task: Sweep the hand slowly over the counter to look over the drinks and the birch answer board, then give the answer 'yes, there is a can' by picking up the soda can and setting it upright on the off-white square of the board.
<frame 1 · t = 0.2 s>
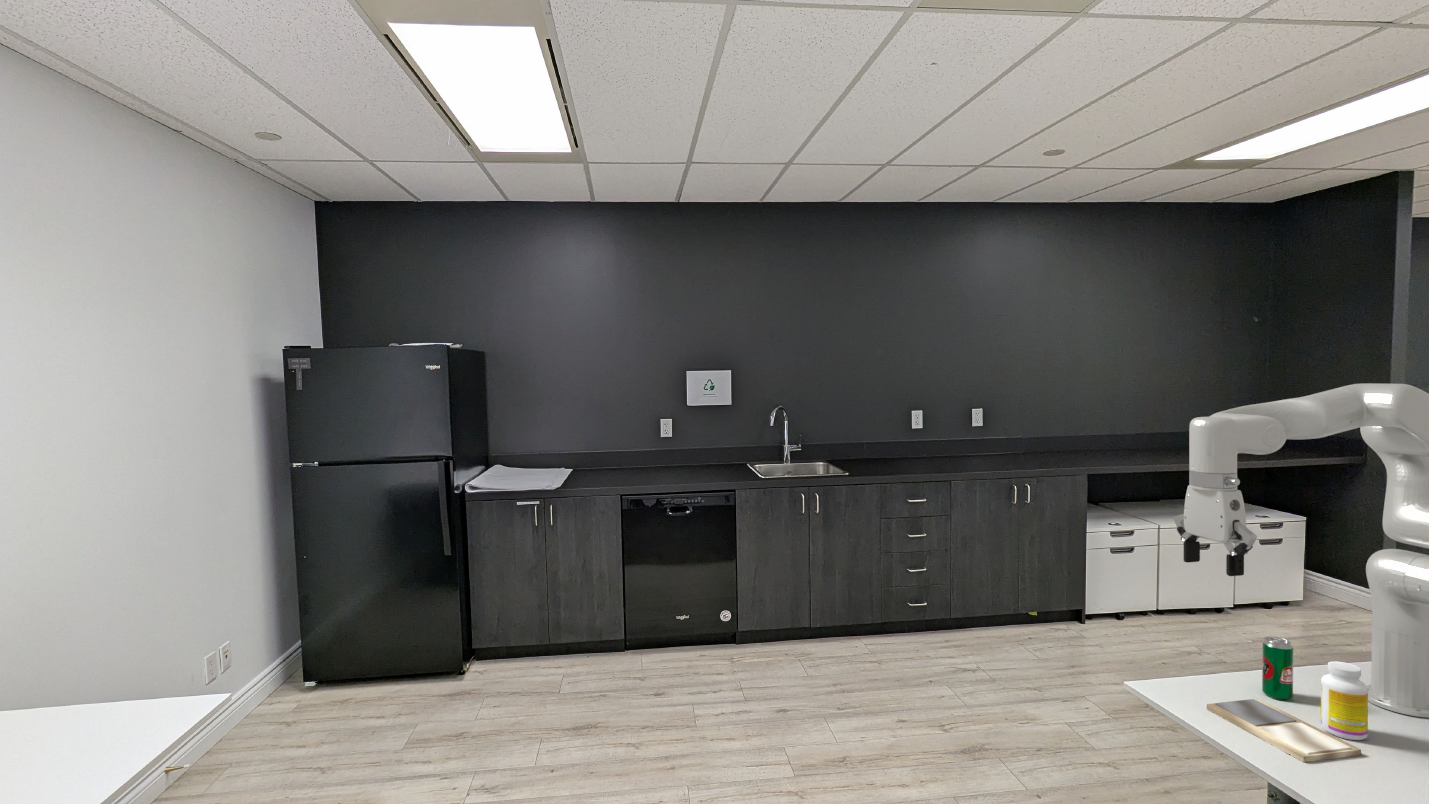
hand: (1212, 568, 135), 31 cm above the table, tool pointing down, fingers open, 9 cm apart
answer board: (1278, 730, 133), on the table
soda can: (1277, 696, 147), on the table
supplement bottle: (1343, 733, 132), on the table
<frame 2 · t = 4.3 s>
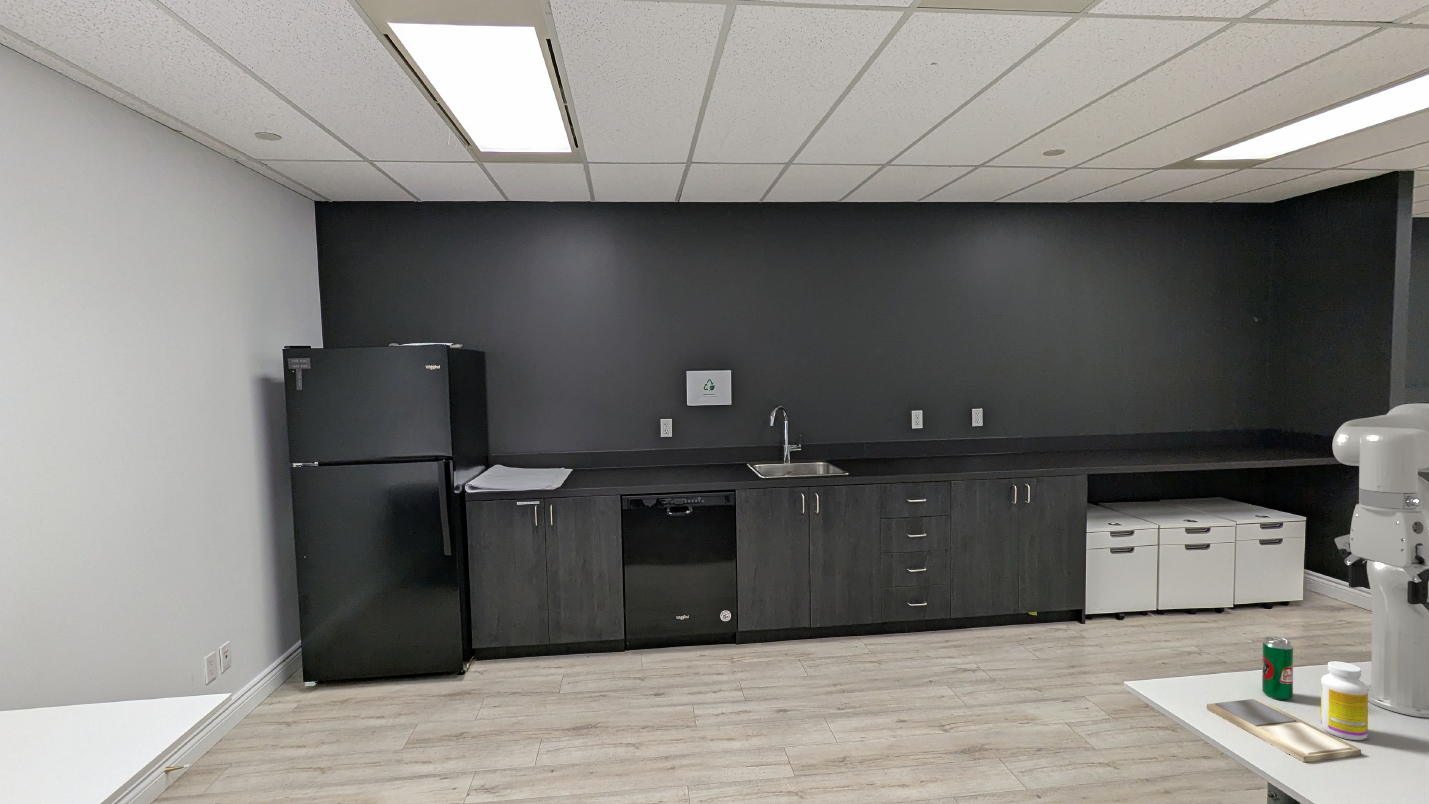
hand: (1386, 594, 125), 28 cm above the table, tool pointing down, fingers open, 9 cm apart
nothing on the table moved.
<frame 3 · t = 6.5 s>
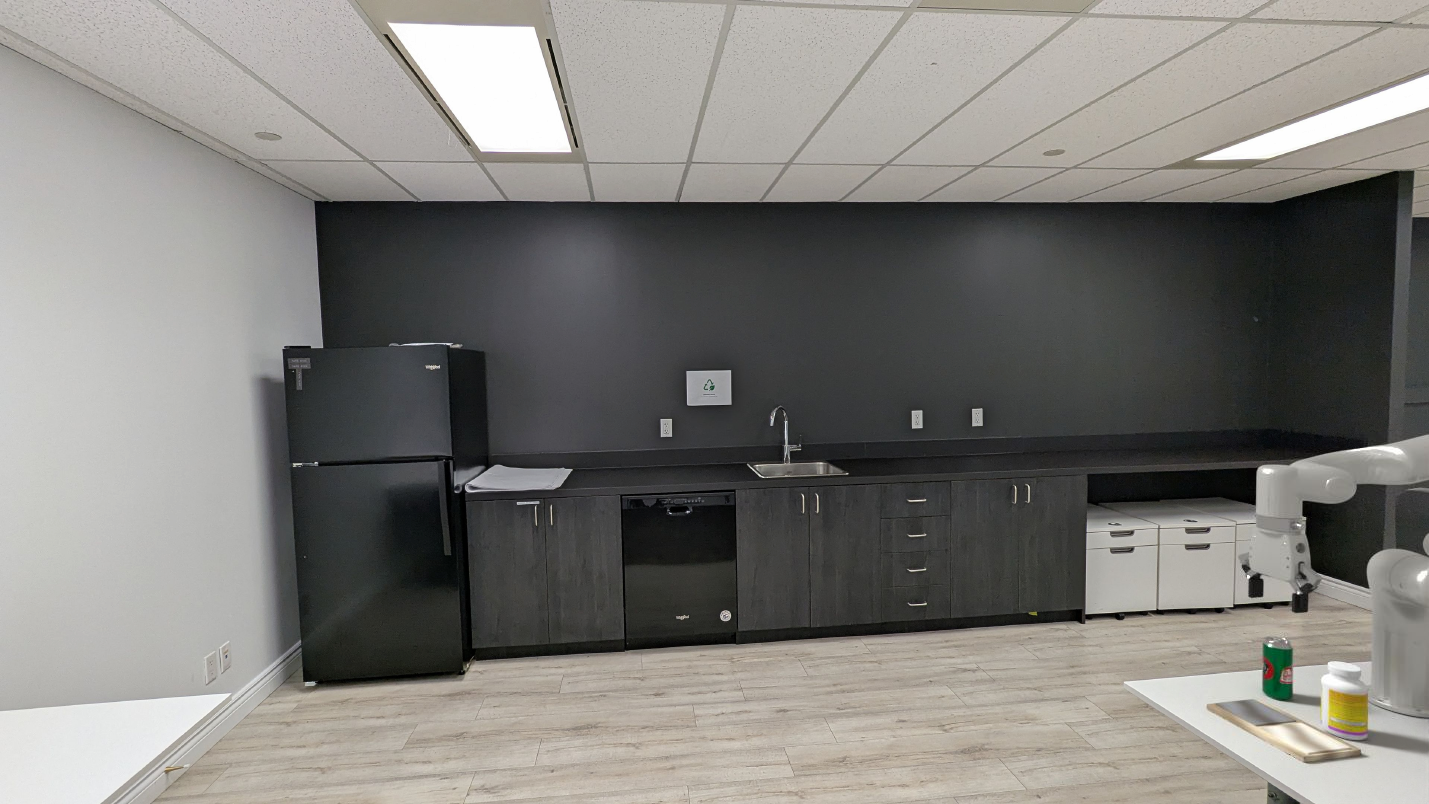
hand: (1277, 604, 146), 20 cm above the table, tool pointing down, fingers open, 9 cm apart
nothing on the table moved.
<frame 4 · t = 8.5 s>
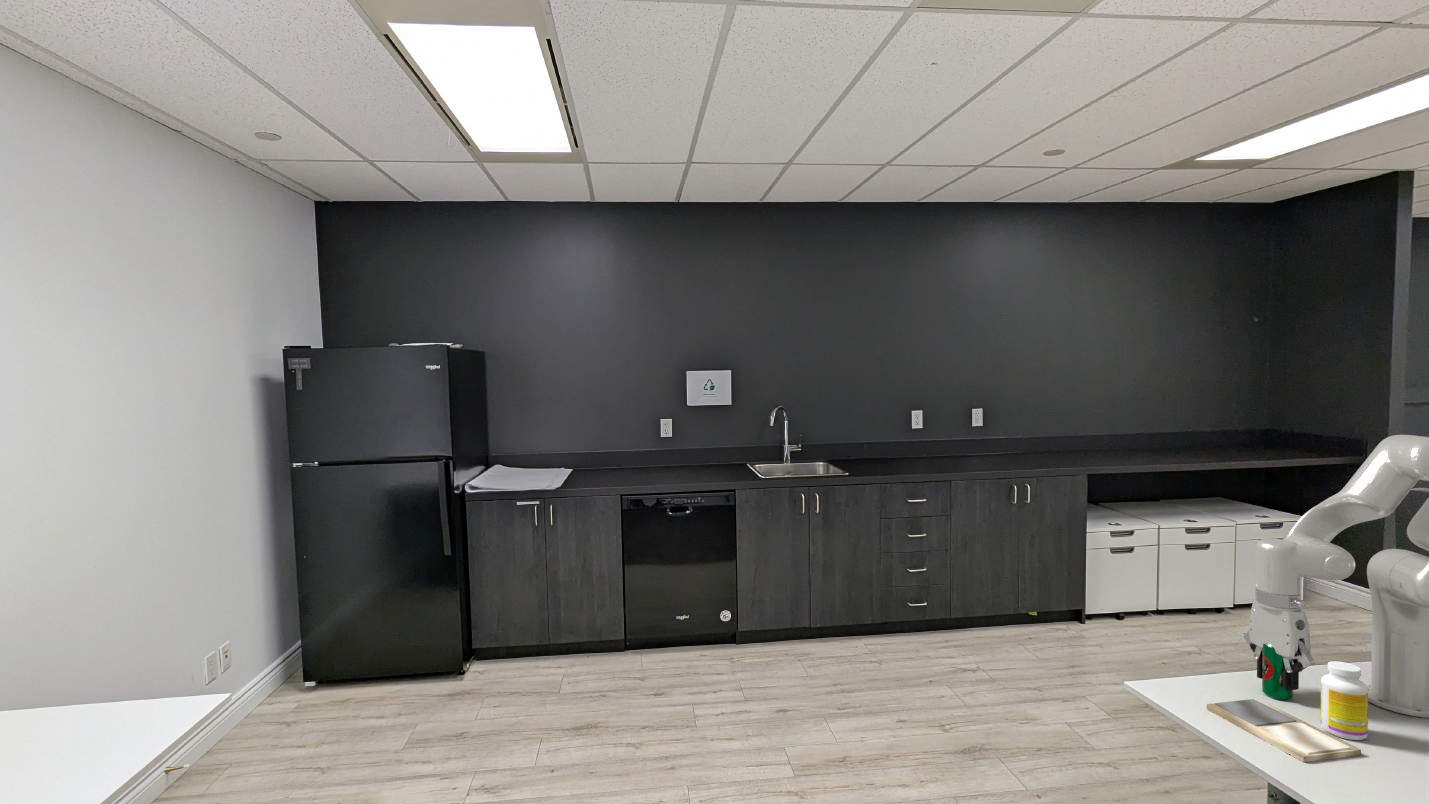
hand: (1277, 682, 147), 3 cm above the table, tool pointing down, fingers closed on soda can, 5 cm apart
soda can: (1277, 696, 147), on the table, touching gripper
everything else where it was.
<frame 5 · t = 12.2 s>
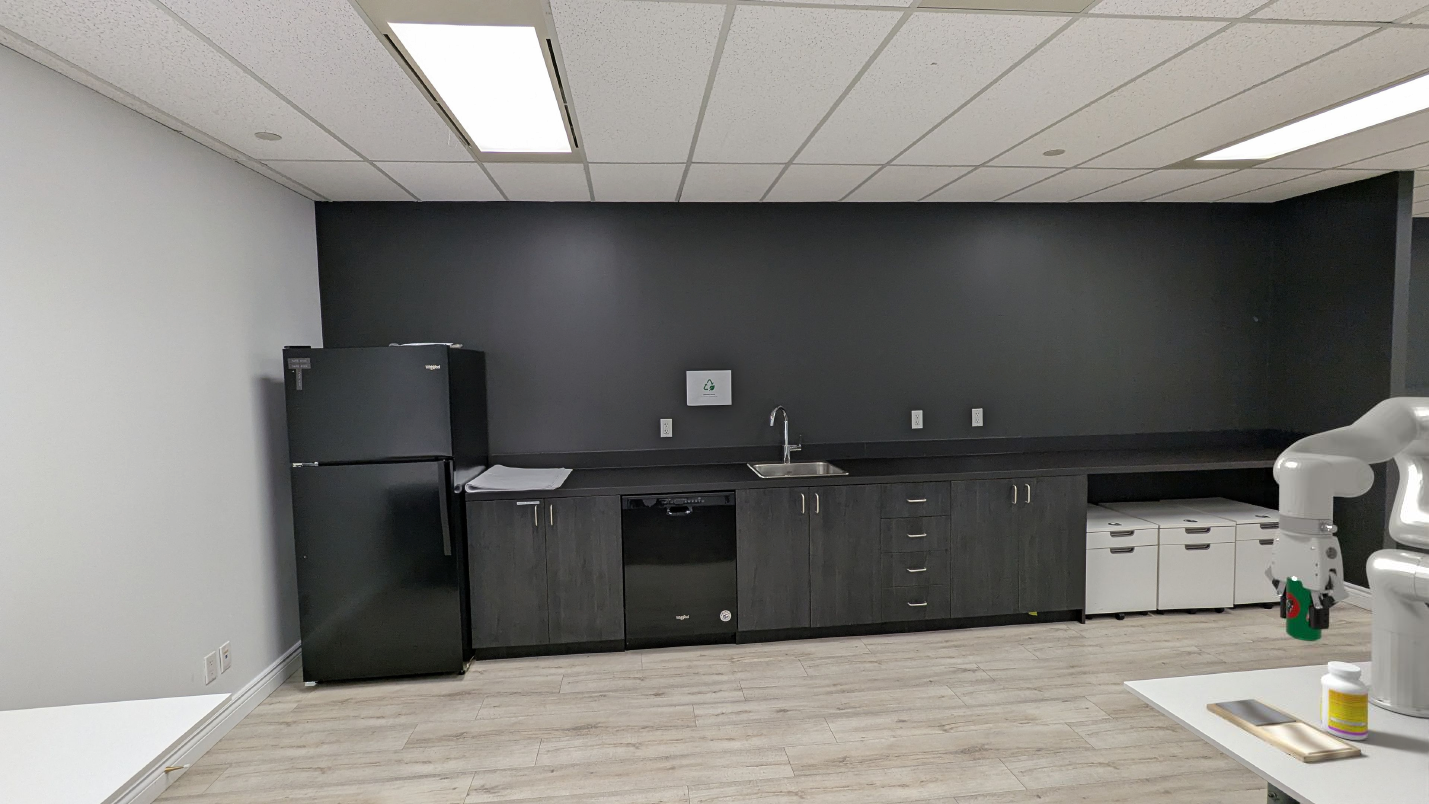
hand: (1303, 622, 128), 23 cm above the table, tool pointing down, fingers closed on soda can, 5 cm apart
soda can: (1303, 638, 128), point 20 cm above the table, touching gripper
everything else where it was.
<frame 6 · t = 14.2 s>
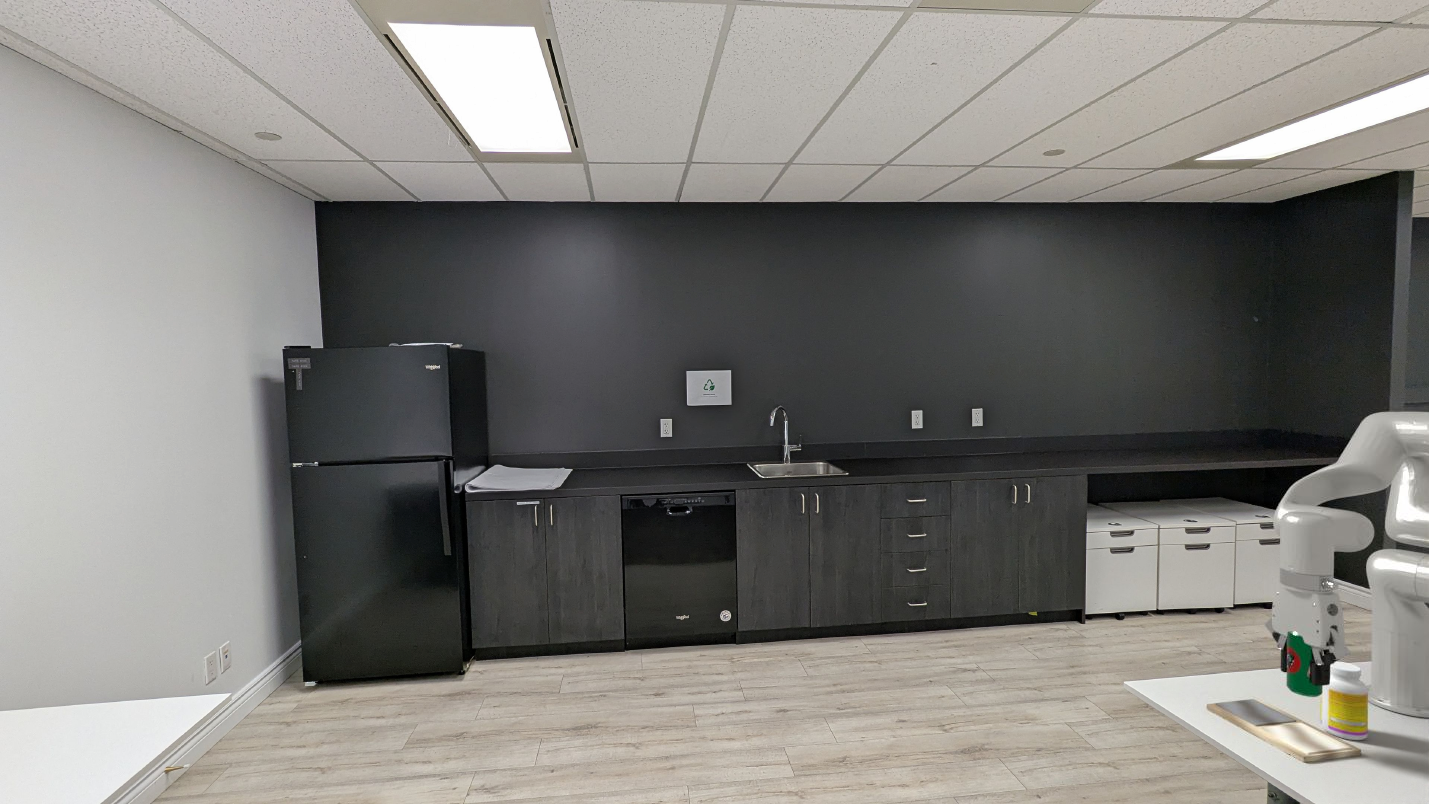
hand: (1304, 676, 128), 13 cm above the table, tool pointing down, fingers closed on soda can, 5 cm apart
soda can: (1304, 693, 128), point 10 cm above the table, touching gripper
everything else where it was.
when the fingers open (5 cm above the table, at t = 16.0 s): soda can drops 1 cm, resting on answer board.
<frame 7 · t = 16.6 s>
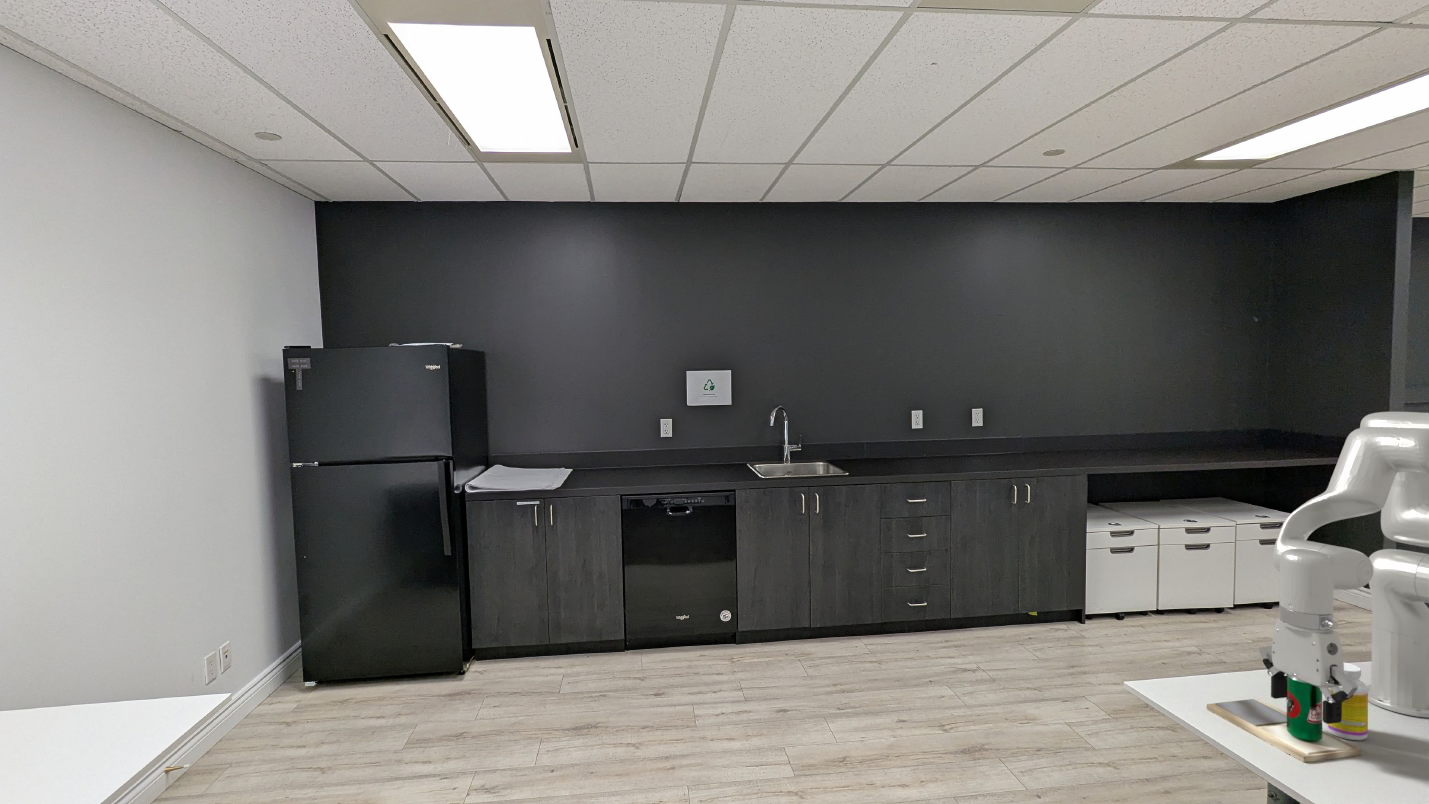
hand: (1304, 709, 128), 6 cm above the table, tool pointing down, fingers open, 9 cm apart
soda can: (1304, 737, 128), point 1 cm above the table, touching answer board
everything else where it was.
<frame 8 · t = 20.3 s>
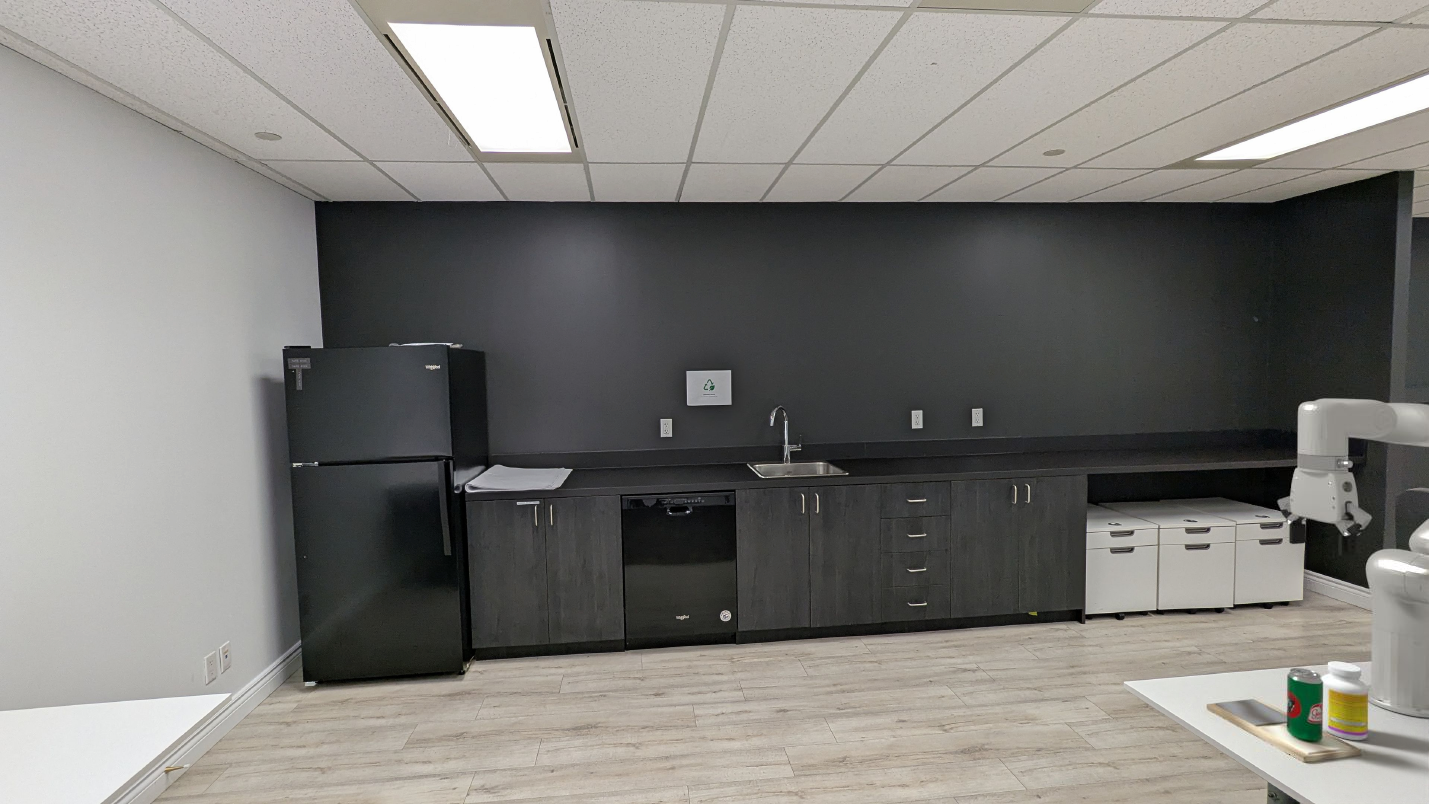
hand: (1321, 549, 138), 33 cm above the table, tool pointing down, fingers open, 9 cm apart
nothing on the table moved.
at the end: soda can 0.3 cm from the target spot on the answer board, point 1.1 cm above the answer board's base; soda can tilted 0°; supplement bottle moved 0.2 cm from its start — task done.
